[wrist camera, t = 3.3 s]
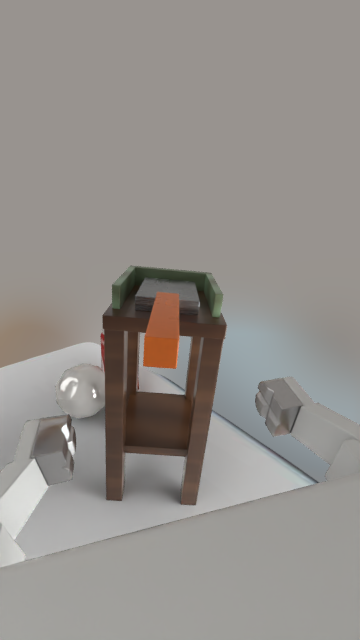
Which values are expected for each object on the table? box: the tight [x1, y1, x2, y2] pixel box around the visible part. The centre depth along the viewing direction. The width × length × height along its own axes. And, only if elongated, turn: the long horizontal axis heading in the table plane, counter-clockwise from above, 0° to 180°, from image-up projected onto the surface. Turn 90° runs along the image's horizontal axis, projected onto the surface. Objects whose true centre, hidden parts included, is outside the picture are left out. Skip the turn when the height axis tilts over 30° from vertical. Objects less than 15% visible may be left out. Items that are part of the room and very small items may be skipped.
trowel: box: [135, 277, 200, 369], centre depth 26 cm, size 19×6×2 cm, turn 1°
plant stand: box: [103, 266, 227, 505], centre depth 36 cm, size 13×12×28 cm
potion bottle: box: [55, 364, 139, 419], centre depth 50 cm, size 9×10×15 cm
